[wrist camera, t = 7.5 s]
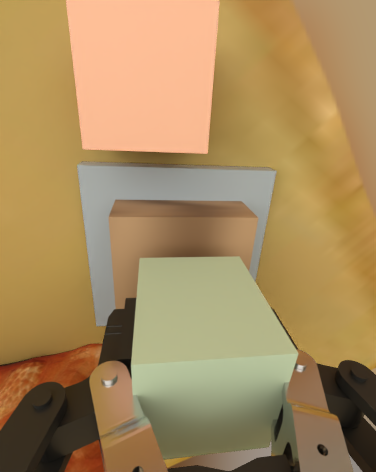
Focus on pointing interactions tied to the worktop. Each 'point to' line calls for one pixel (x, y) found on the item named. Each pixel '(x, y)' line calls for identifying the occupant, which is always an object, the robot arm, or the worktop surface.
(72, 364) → the ceramic vessel
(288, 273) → the worktop surface
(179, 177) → the board
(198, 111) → the terracotta block
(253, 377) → the sage block
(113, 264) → the walnut base
